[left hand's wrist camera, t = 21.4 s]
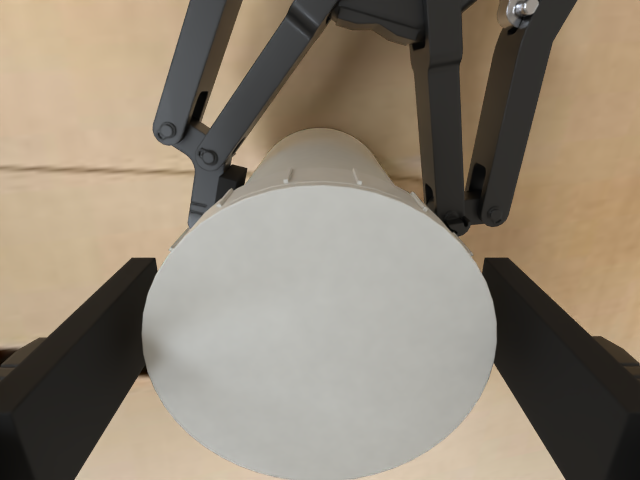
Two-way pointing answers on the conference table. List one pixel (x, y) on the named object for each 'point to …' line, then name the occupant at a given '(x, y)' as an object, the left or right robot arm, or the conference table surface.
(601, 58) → the conference table surface
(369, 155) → the jar
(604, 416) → the left robot arm
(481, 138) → the right robot arm
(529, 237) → the conference table surface
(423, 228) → the lid
